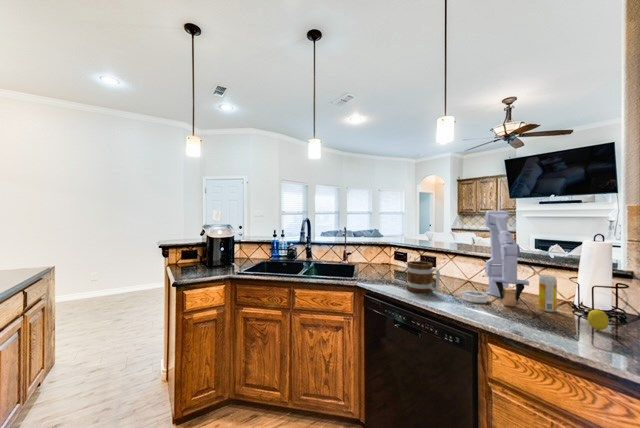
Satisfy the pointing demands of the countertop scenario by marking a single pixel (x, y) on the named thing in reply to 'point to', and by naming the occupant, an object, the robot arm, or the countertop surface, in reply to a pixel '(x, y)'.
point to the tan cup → (509, 296)
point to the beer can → (547, 293)
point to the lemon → (598, 319)
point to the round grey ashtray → (475, 296)
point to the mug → (421, 277)
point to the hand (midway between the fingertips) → (509, 299)
